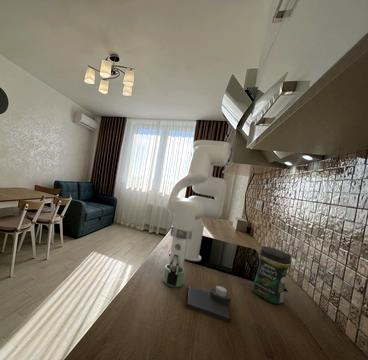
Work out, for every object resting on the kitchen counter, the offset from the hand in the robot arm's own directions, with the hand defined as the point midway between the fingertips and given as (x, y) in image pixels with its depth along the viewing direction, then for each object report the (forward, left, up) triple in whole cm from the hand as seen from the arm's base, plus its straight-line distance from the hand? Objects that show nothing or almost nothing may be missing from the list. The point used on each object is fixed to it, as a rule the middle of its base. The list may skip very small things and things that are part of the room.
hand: (172, 279), depth 79 cm
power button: (+3, +16, +1) cm, 16 cm away
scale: (+7, +12, -1) cm, 14 cm away
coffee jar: (-13, +34, -2) cm, 36 cm away
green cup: (0, 0, -1) cm, 1 cm away
